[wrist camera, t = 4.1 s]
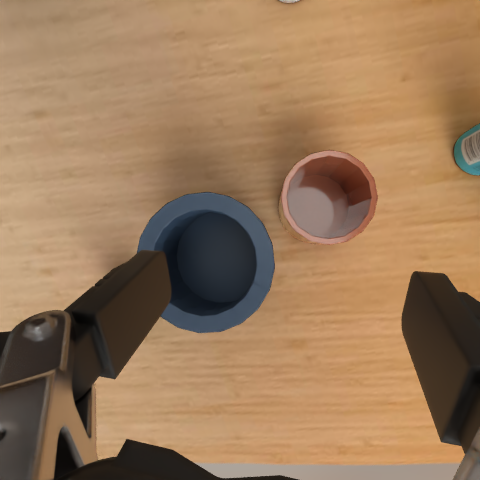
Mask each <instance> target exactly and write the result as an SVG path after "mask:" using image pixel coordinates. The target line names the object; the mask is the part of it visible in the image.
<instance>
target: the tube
mask: <svg viewBox="0 0 480 480" xmlns="http://www.w3.org/2000/svg"><path fill="white" fill-rule="evenodd" d="M454 157H455V161H456V163H457V165H458V166H459V167H460V168H461V169H462V170H463V171H465V172H467V173H469V174H472V175H480V123H479V124H478V125H476V126H474V127H473V128H471V129H470V130H468V131H467V132H465V133H464V134H463V135H462V136H461V137H460V138H459V139H458V140H457V142H456V144H455V147H454Z"/></svg>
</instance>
